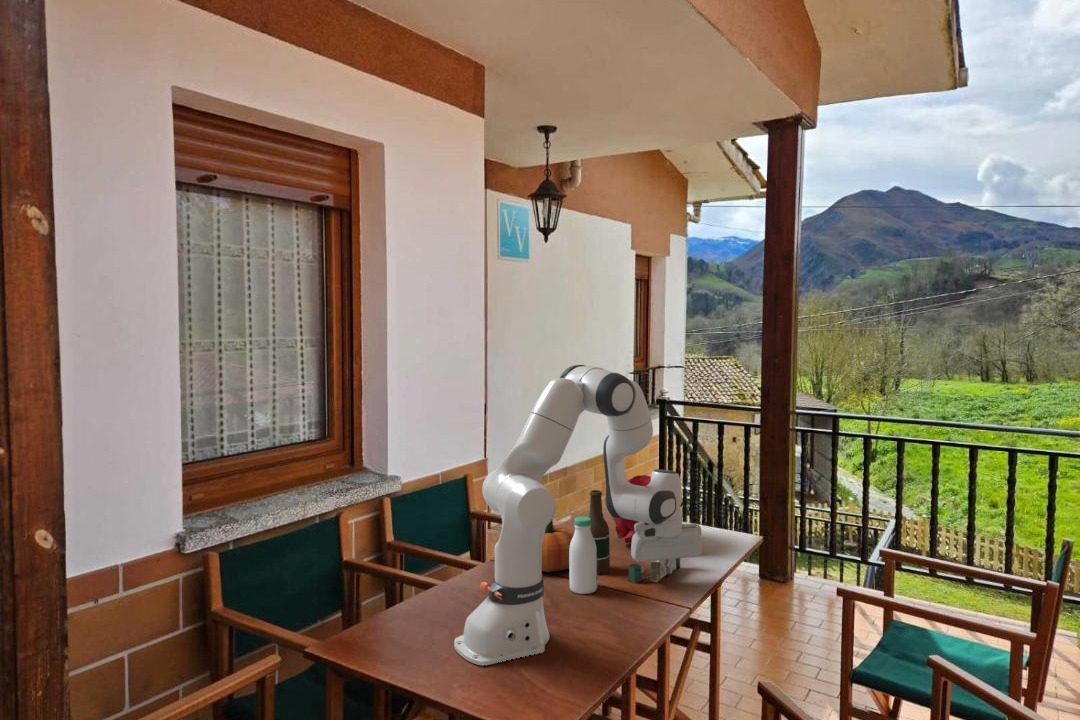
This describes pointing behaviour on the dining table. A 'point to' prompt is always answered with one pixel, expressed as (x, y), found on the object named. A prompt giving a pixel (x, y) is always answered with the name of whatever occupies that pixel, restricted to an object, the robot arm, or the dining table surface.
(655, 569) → the grey rectangular bar
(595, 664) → the dining table surface
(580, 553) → the milk bottle
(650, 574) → the grey metal rod
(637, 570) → the dark green brushed box
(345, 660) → the dining table surface
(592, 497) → the beer bottle
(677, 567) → the hinge post
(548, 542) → the pumpkin
